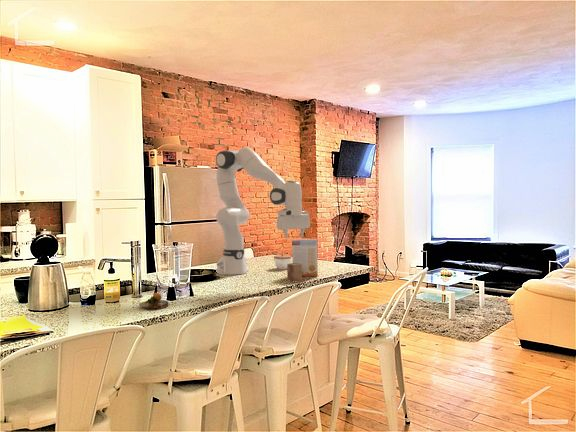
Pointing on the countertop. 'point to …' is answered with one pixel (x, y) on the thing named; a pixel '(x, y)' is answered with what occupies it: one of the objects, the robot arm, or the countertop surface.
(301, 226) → the robot arm
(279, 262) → the lidded jar
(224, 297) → the countertop surface
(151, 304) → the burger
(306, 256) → the cracker box
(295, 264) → the walnut block
